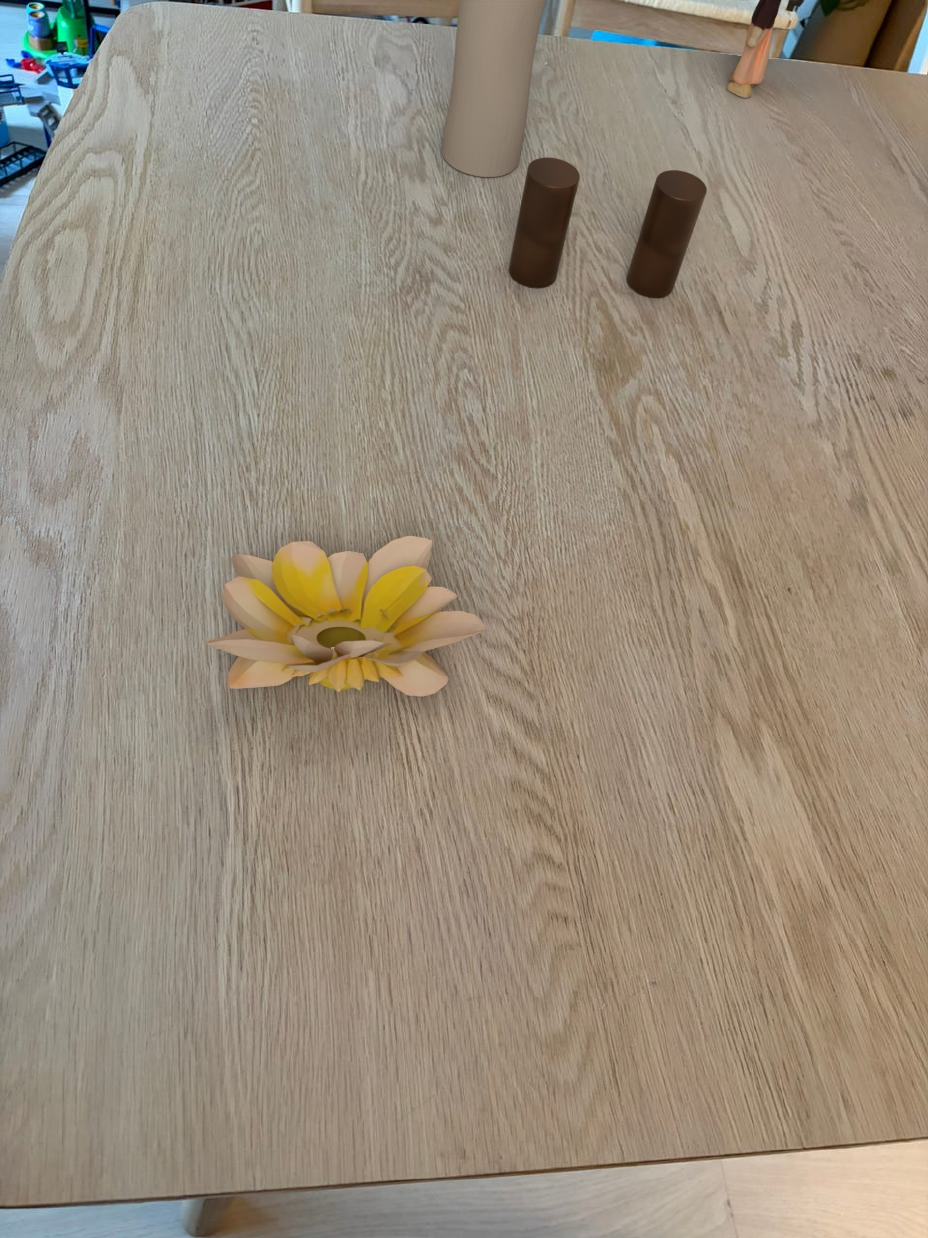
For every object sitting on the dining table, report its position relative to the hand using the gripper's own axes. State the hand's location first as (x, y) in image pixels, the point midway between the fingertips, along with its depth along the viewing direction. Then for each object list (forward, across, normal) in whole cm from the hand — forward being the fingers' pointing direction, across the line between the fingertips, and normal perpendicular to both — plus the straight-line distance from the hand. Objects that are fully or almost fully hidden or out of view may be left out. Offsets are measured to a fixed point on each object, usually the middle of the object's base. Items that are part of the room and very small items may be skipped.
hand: (770, 0), depth 99 cm
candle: (+22, -21, -9) cm, 32 cm away
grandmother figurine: (+5, 0, +8) cm, 9 cm away
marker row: (+33, -7, -20) cm, 39 cm away
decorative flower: (+63, -12, -50) cm, 81 cm away
